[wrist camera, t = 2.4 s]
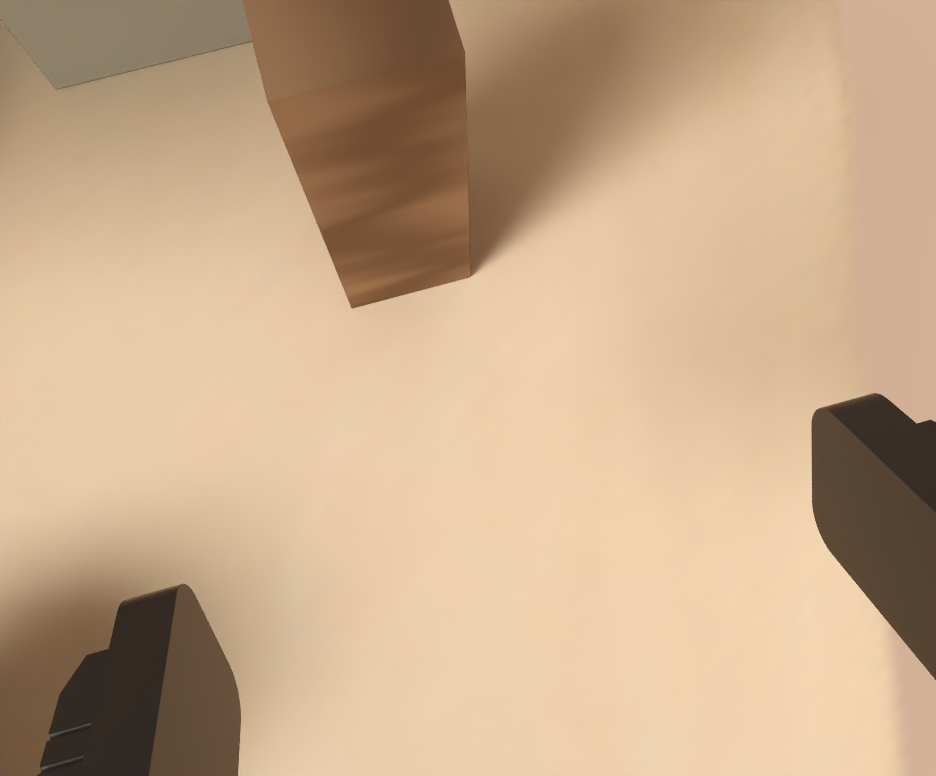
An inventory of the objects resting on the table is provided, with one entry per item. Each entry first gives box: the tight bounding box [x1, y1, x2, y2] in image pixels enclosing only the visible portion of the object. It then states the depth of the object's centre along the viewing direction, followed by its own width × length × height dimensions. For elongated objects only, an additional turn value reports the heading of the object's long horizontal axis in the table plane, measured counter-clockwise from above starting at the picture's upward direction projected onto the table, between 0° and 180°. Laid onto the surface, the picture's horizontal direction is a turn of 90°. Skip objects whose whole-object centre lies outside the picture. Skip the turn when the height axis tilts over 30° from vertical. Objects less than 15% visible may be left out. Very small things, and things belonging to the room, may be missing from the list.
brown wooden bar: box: [242, 0, 470, 308], centre depth 24 cm, size 4×4×12 cm
